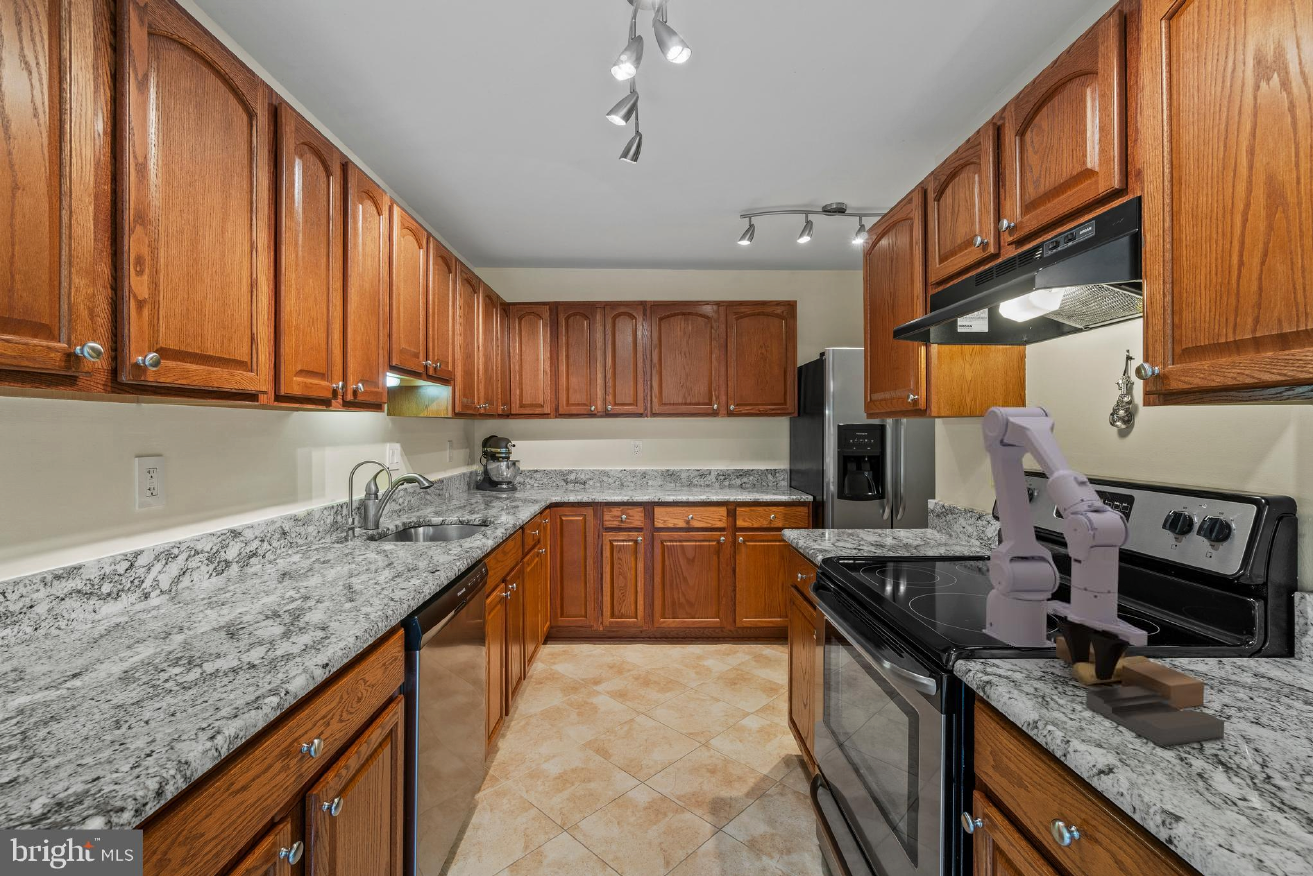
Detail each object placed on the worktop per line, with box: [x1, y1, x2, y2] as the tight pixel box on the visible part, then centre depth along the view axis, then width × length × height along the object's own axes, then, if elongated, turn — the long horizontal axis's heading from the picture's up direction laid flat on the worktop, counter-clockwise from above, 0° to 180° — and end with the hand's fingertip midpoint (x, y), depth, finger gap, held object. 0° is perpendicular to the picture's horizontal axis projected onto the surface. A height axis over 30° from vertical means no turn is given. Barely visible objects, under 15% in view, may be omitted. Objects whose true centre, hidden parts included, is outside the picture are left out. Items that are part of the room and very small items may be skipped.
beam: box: [1055, 636, 1205, 709], centre depth 88 cm, size 18×6×3 cm, turn 11°
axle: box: [1072, 655, 1152, 686], centre depth 88 cm, size 12×3×3 cm, turn 101°
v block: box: [1085, 685, 1225, 748], centre depth 76 cm, size 10×10×2 cm
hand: (1092, 673), depth 87 cm, fingers closed on axle, 3 cm apart
